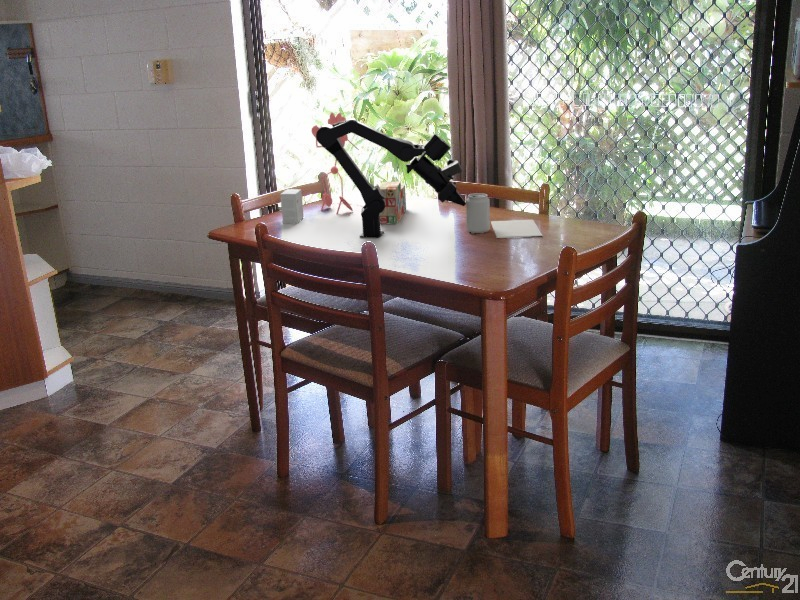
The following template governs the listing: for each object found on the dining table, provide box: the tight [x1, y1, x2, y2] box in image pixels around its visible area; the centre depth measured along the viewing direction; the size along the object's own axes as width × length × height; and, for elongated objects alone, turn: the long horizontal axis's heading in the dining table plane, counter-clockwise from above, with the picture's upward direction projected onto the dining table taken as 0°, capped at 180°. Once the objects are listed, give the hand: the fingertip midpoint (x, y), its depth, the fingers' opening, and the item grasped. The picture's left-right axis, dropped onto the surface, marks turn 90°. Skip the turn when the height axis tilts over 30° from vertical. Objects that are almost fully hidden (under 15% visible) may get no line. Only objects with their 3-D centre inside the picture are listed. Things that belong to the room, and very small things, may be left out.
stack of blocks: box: [379, 180, 407, 225], centre depth 281 cm, size 21×6×12 cm, turn 171°
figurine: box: [311, 112, 363, 217], centre depth 292 cm, size 15×26×35 cm, turn 43°
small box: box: [279, 188, 304, 224], centre depth 282 cm, size 8×6×10 cm
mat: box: [490, 219, 543, 239], centre depth 259 cm, size 14×20×1 cm
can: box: [465, 192, 491, 234], centre depth 257 cm, size 8×8×12 cm
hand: (465, 204), depth 256 cm, fingers closed
